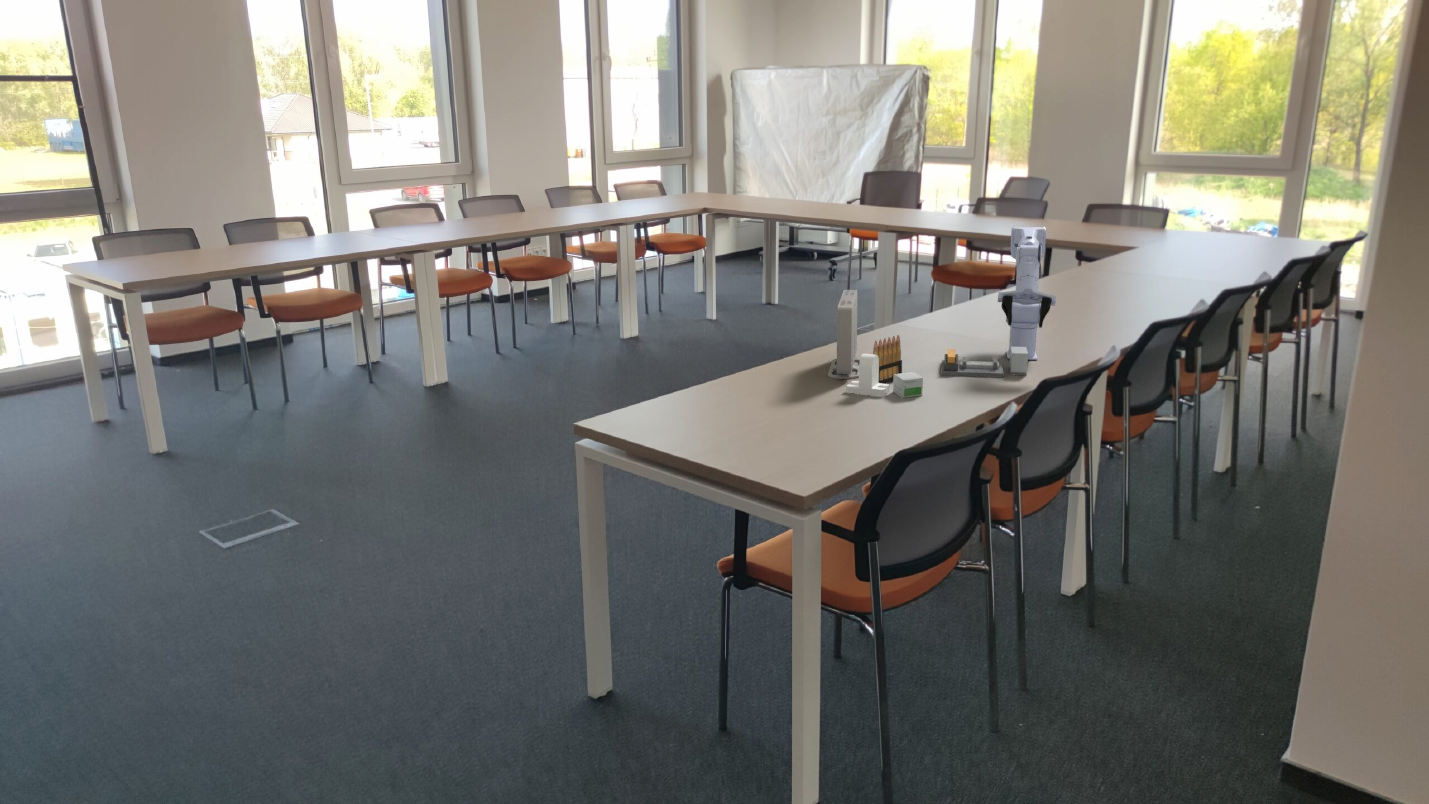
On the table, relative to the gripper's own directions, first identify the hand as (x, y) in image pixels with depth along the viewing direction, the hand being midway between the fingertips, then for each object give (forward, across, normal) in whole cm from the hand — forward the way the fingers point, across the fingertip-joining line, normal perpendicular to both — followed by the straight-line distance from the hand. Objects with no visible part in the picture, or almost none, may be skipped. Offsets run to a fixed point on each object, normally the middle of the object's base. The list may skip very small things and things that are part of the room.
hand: (1025, 324), depth 249 cm
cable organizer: (+26, -38, -2) cm, 46 cm away
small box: (+26, -28, -2) cm, 38 cm away
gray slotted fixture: (+6, -12, +12) cm, 19 cm away
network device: (+11, -46, +12) cm, 48 cm away
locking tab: (+5, -18, +11) cm, 22 cm away
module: (+6, 0, +13) cm, 14 cm away
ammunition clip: (+18, -34, +4) cm, 39 cm away
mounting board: (+7, -12, +13) cm, 19 cm away
